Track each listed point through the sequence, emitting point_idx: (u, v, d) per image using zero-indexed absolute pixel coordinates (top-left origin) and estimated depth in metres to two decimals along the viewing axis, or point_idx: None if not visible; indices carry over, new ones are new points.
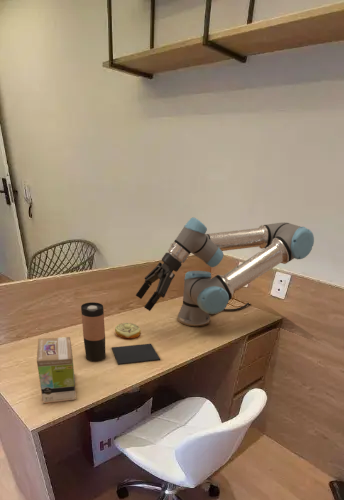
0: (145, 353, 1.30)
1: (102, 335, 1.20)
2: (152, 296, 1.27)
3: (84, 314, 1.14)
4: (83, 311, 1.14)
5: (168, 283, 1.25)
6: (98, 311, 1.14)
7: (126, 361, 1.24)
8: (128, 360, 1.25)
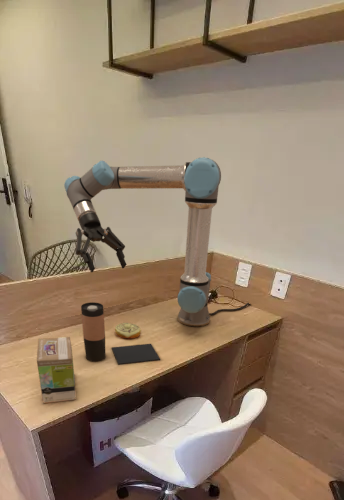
0: (145, 353, 1.30)
1: (102, 335, 1.20)
2: None
3: (84, 314, 1.14)
4: (83, 311, 1.14)
5: (77, 239, 1.24)
6: (98, 311, 1.14)
7: (126, 361, 1.24)
8: (128, 360, 1.25)
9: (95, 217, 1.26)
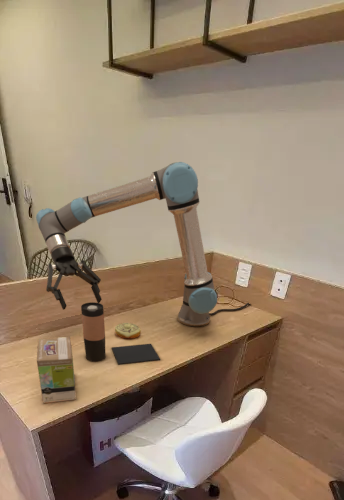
0: (145, 353, 1.30)
1: (102, 335, 1.20)
2: None
3: (84, 314, 1.14)
4: (83, 311, 1.14)
5: (48, 275, 1.18)
6: (98, 311, 1.14)
7: (126, 361, 1.24)
8: (128, 360, 1.25)
9: (67, 251, 1.20)
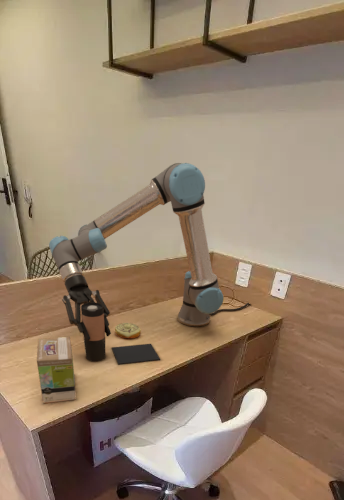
0: (145, 353, 1.30)
1: (102, 335, 1.20)
2: None
3: (84, 314, 1.14)
4: (83, 311, 1.14)
5: (67, 307, 1.16)
6: (98, 311, 1.14)
7: (126, 361, 1.24)
8: (128, 360, 1.25)
9: (81, 280, 1.18)
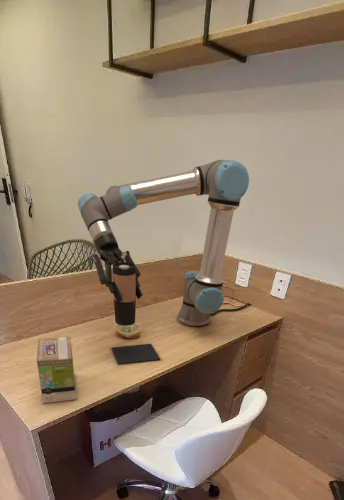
0: (145, 353, 1.30)
1: (133, 297, 1.15)
2: None
3: (116, 273, 1.10)
4: (115, 270, 1.09)
5: (98, 266, 1.11)
6: (131, 270, 1.09)
7: (126, 361, 1.24)
8: (128, 360, 1.25)
9: (112, 238, 1.13)
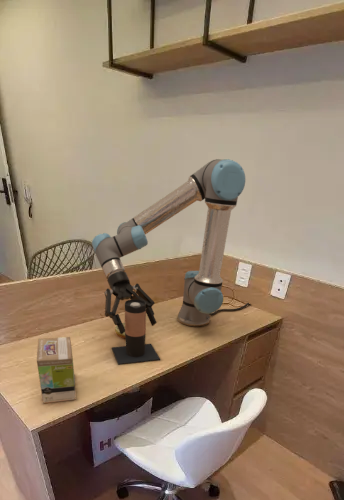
0: (145, 353, 1.30)
1: (144, 331, 1.23)
2: None
3: (128, 311, 1.18)
4: (127, 308, 1.17)
5: (107, 300, 1.19)
6: (142, 308, 1.18)
7: (126, 361, 1.24)
8: (128, 360, 1.25)
9: (124, 276, 1.21)
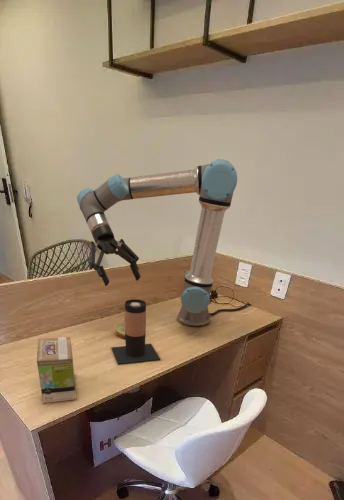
0: (145, 353, 1.30)
1: (144, 331, 1.23)
2: None
3: (128, 311, 1.18)
4: (127, 308, 1.17)
5: (91, 252, 1.22)
6: (142, 308, 1.18)
7: (126, 361, 1.24)
8: (128, 360, 1.25)
9: (109, 230, 1.24)
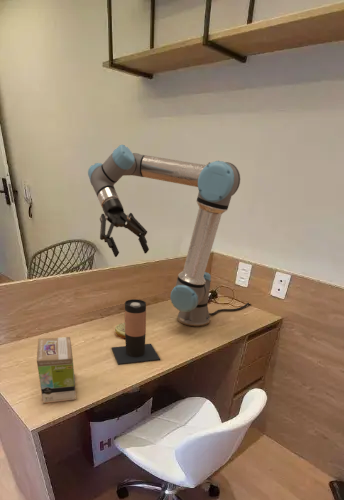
0: (145, 353, 1.30)
1: (144, 331, 1.23)
2: None
3: (128, 310, 1.18)
4: (127, 308, 1.17)
5: (102, 224, 1.26)
6: (142, 308, 1.18)
7: (126, 361, 1.24)
8: (128, 360, 1.25)
9: (118, 203, 1.29)
